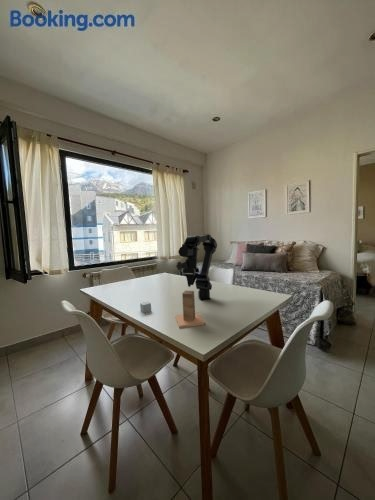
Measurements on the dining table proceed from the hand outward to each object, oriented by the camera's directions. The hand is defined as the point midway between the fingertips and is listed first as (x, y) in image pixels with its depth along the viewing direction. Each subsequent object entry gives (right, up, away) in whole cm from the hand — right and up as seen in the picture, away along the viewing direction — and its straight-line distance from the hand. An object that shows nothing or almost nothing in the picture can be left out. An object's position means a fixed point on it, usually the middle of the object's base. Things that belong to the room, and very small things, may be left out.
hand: (190, 285), depth 114 cm
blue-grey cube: (-25, -14, -1) cm, 28 cm away
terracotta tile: (-1, -14, -16) cm, 21 cm away
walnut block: (-1, -13, -16) cm, 21 cm away
